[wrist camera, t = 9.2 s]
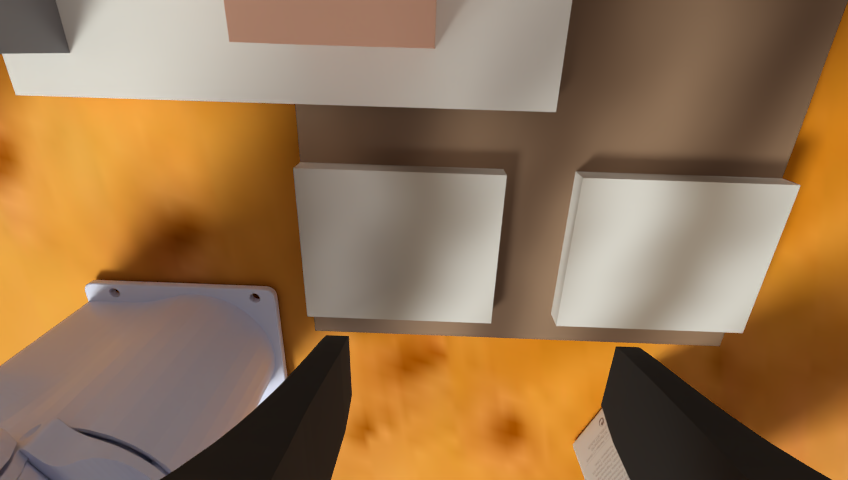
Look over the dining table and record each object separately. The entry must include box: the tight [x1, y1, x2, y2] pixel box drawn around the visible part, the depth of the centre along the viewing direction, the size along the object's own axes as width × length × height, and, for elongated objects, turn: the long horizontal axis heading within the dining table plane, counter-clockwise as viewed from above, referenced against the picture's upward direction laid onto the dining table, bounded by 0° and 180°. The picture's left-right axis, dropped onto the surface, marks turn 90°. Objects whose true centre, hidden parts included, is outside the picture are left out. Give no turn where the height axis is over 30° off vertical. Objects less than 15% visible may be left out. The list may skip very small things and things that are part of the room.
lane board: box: [293, 0, 848, 346], centre depth 17 cm, size 20×21×2 cm
